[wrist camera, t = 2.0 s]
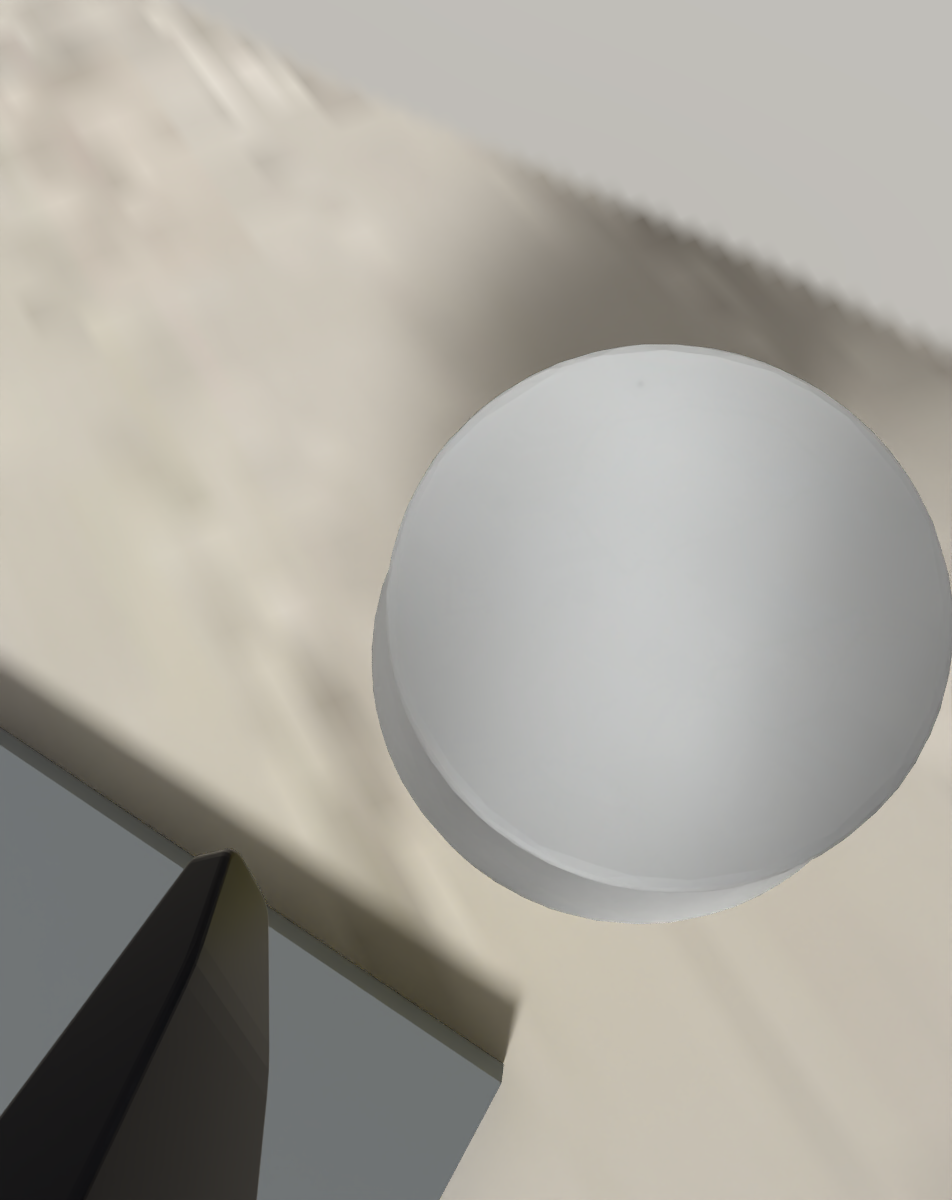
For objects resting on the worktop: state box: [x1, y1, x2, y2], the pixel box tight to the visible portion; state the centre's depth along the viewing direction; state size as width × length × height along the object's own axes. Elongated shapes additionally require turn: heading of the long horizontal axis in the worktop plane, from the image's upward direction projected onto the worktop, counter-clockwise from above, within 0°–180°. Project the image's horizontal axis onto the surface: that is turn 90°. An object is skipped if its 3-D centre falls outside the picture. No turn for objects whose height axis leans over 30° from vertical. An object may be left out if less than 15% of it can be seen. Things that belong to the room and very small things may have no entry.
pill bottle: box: [372, 344, 952, 924], centre depth 12 cm, size 6×6×11 cm
